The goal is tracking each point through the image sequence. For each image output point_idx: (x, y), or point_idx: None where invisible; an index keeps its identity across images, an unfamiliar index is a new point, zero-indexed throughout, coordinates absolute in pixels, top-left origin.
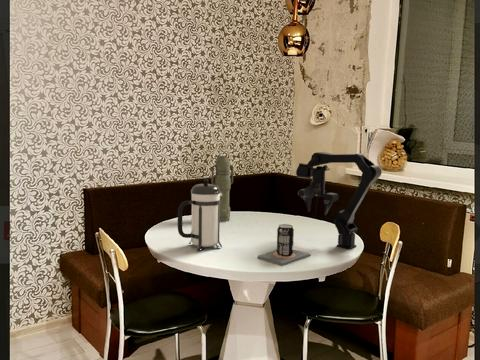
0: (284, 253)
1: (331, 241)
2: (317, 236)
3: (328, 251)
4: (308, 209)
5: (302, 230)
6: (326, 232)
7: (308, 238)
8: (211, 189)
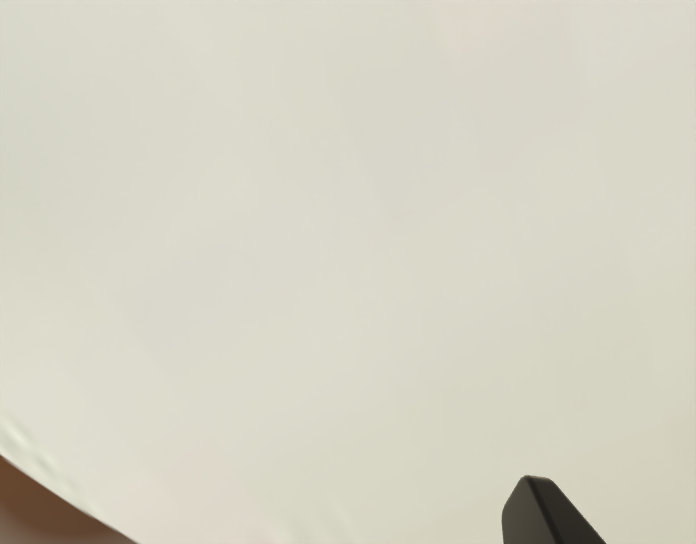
0: None
1: (107, 213)
2: (354, 315)
3: None
4: (549, 533)
5: (586, 427)
6: (338, 477)
7: (417, 176)
8: None
